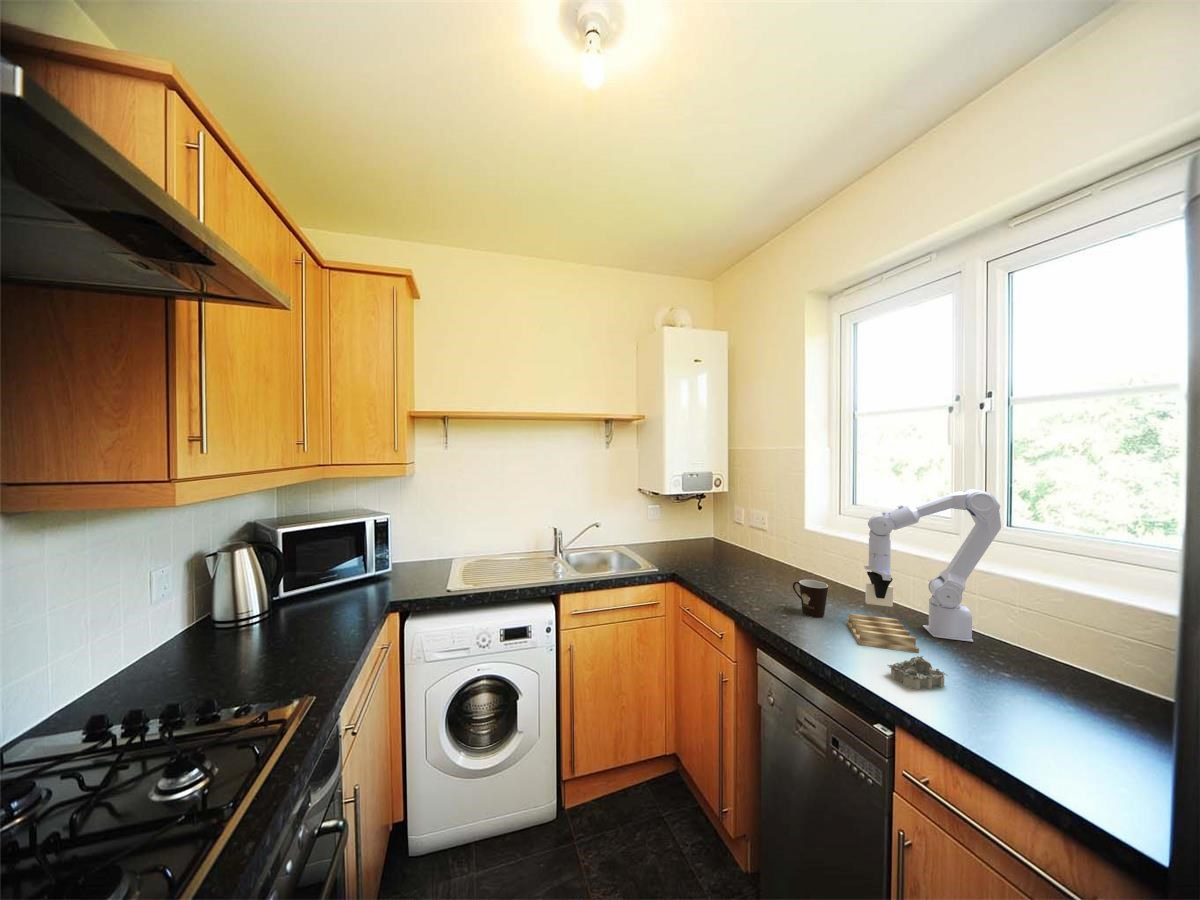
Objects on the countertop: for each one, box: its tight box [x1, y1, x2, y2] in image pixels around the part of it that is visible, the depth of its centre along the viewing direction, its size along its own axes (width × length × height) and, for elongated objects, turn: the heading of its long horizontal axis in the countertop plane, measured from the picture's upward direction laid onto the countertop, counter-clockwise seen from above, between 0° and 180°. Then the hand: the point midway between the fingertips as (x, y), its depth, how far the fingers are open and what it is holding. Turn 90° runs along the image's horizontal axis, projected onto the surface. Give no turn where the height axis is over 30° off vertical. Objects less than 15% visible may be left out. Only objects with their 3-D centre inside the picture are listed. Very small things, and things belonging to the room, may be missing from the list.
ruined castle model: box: [887, 655, 949, 691], centre depth 99 cm, size 11×8×4 cm
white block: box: [865, 582, 894, 607], centre depth 133 cm, size 7×2×6 cm, turn 72°
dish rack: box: [845, 613, 920, 654], centre depth 122 cm, size 14×15×4 cm
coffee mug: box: [792, 579, 829, 619], centre depth 141 cm, size 12×9×10 cm
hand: (879, 596), depth 133 cm, fingers closed on white block, 2 cm apart
